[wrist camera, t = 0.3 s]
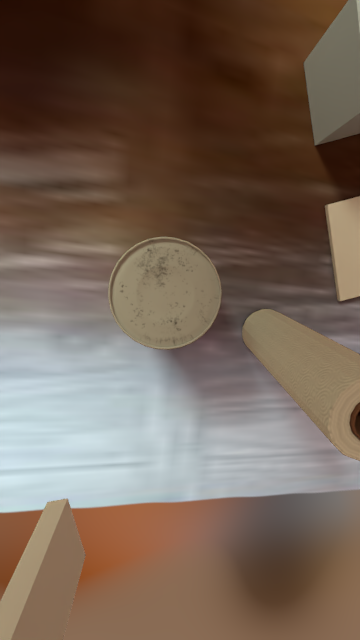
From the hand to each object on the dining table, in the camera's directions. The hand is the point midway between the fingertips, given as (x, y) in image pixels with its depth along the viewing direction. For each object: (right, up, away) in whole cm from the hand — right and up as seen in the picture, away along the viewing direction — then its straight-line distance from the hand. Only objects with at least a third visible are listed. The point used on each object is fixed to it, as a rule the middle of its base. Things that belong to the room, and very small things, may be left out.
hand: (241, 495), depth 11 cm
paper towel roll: (+9, +5, +28) cm, 29 cm away
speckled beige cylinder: (-4, +12, +25) cm, 28 cm away
